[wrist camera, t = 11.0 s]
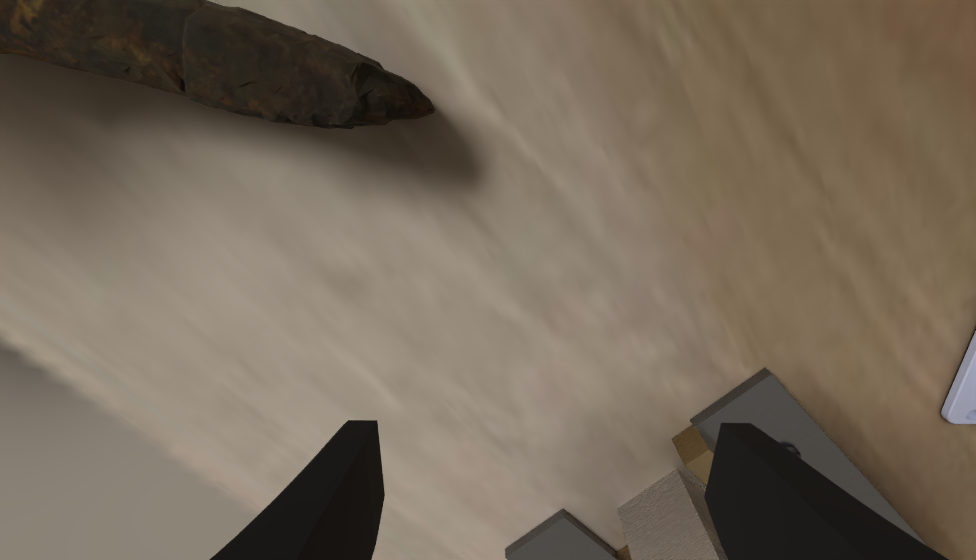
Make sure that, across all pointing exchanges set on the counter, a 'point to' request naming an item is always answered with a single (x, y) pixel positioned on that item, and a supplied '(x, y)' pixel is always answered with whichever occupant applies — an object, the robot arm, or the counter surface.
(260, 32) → the brown wooden log
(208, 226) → the counter surface
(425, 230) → the counter surface
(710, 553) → the aluminum bar stock
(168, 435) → the counter surface
